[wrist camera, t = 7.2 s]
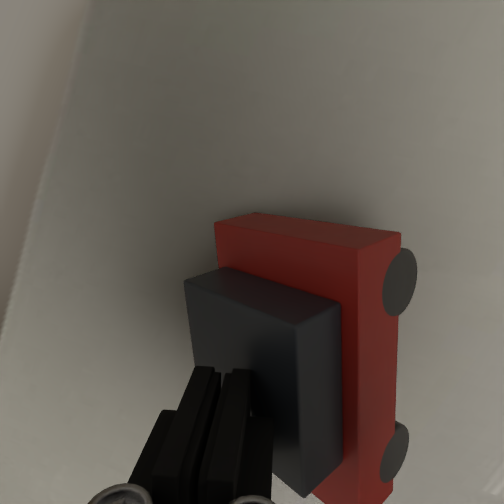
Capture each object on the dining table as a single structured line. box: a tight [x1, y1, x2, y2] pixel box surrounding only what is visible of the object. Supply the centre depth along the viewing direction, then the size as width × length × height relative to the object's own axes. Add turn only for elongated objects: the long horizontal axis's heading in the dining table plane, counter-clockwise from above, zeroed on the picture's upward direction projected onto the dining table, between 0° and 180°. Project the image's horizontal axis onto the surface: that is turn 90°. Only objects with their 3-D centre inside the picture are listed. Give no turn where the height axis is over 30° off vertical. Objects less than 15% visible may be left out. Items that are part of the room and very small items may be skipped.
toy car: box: [184, 213, 417, 504], centre depth 13 cm, size 9×5×6 cm
